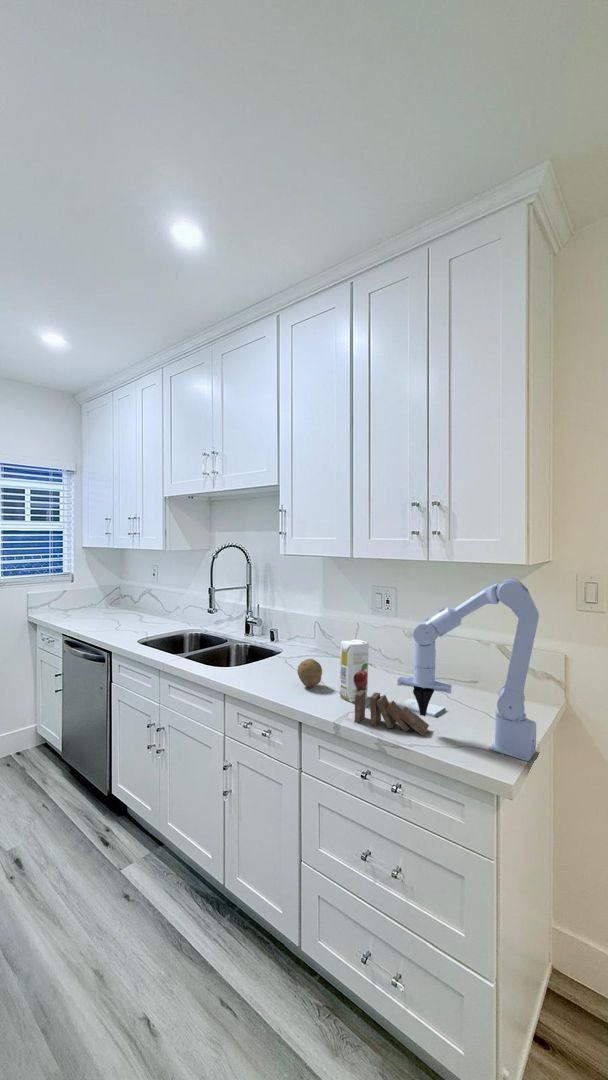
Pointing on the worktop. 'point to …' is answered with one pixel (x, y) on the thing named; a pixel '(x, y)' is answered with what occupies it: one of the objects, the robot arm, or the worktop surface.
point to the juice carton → (353, 668)
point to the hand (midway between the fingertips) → (423, 714)
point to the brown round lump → (310, 672)
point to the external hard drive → (413, 706)
